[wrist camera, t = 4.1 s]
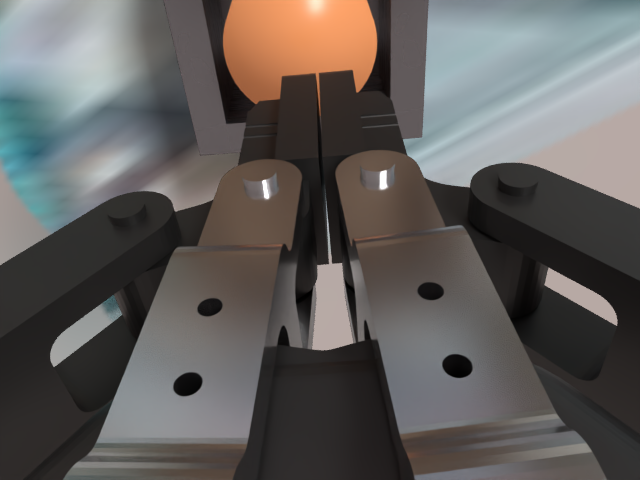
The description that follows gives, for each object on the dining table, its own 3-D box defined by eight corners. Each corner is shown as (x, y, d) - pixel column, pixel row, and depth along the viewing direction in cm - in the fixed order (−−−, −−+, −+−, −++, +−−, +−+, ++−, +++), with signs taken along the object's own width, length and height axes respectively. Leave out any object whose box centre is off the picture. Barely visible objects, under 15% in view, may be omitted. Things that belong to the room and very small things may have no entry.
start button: (362, -70, 16) (376, -43, 13) (366, 66, 18) (377, 112, 16) (223, -58, 16) (209, -28, 13) (245, 76, 19) (236, 124, 16)
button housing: (407, -144, 16) (434, -129, 13) (402, 85, 21) (422, 137, 18) (168, -122, 16) (139, -101, 13) (214, 101, 21) (200, 155, 18)
